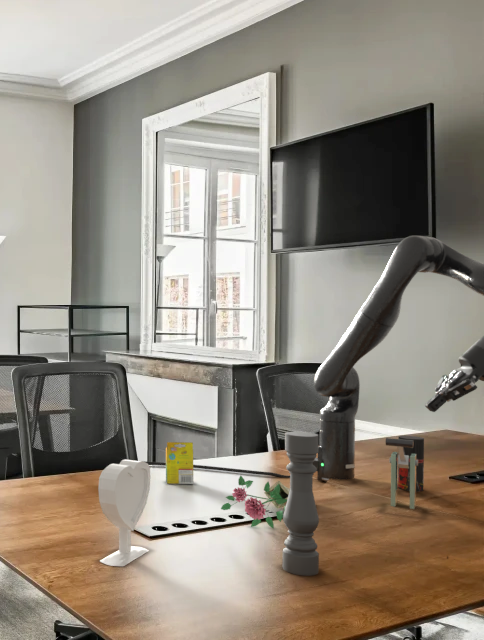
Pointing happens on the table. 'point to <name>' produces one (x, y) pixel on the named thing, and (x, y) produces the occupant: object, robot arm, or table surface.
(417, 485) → the deodorant
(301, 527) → the candle holder
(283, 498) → the flower vase
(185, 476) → the crayon box
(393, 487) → the bracket
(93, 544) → the table surface
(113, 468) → the heart sculpture
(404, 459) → the lever
